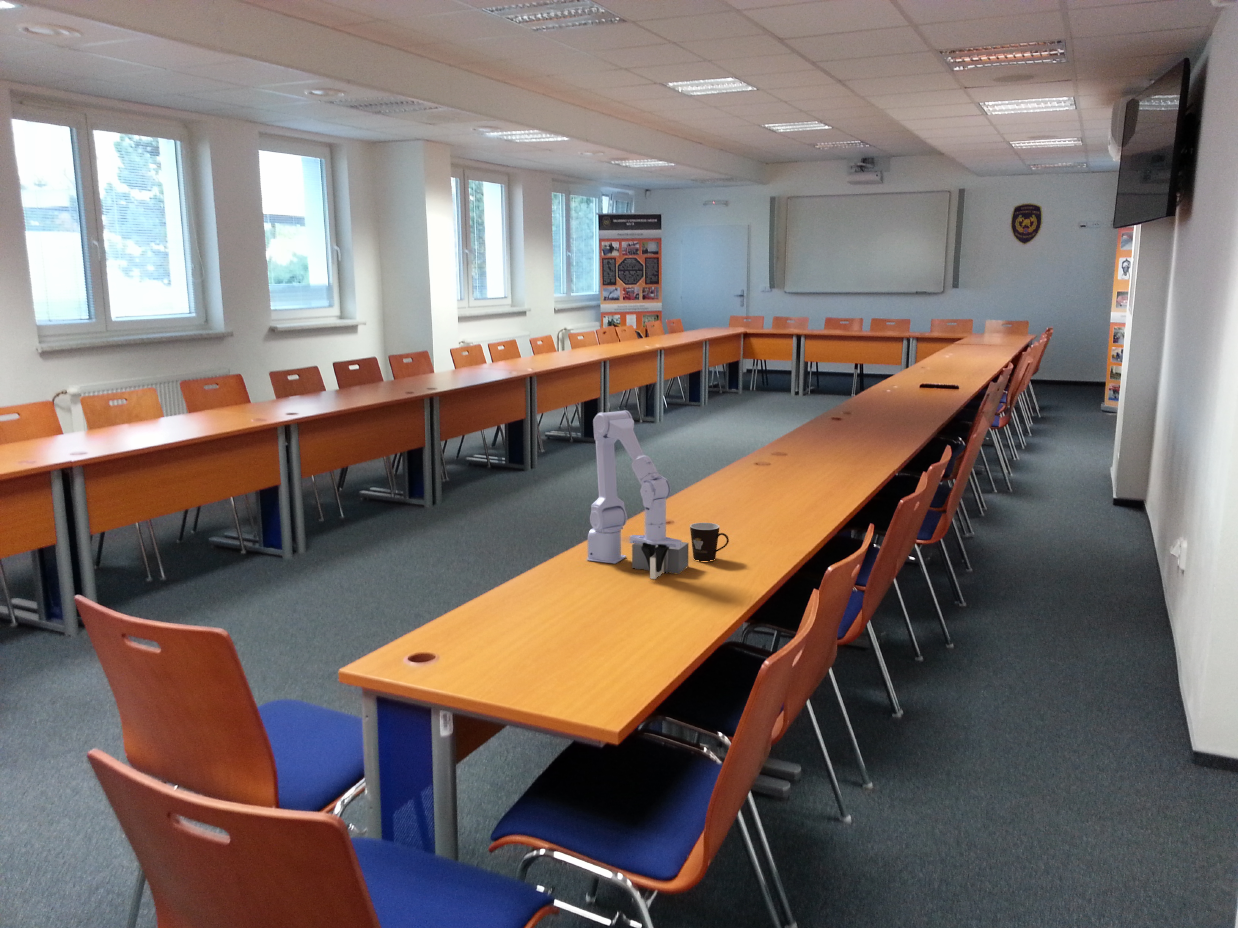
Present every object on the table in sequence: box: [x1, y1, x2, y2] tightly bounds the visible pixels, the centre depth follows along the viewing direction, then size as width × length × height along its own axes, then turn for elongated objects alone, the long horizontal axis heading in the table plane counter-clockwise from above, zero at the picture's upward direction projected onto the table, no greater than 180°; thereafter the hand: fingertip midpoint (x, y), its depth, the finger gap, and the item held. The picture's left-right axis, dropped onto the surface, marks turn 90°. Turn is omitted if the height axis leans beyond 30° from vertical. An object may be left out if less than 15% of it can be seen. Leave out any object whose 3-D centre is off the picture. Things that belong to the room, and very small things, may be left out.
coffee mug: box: [689, 522, 730, 561], centre depth 270 cm, size 12×9×10 cm
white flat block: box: [649, 554, 665, 580], centre depth 258 cm, size 2×10×6 cm, turn 157°
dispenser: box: [631, 541, 690, 575], centre depth 263 cm, size 14×9×7 cm, turn 66°
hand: (655, 570), depth 255 cm, fingers closed on white flat block, 1 cm apart
